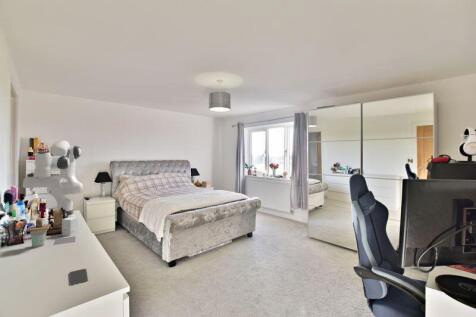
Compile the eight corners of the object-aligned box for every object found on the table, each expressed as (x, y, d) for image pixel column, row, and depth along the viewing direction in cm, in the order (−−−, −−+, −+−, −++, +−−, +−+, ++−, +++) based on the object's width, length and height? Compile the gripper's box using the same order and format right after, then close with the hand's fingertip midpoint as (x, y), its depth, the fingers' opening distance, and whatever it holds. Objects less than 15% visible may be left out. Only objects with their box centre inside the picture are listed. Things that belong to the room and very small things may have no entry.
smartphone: (69, 285, 102) (68, 272, 114) (69, 287, 102) (68, 273, 114) (88, 280, 107) (86, 268, 118) (88, 282, 107) (86, 269, 118)
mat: (55, 239, 163) (55, 239, 163) (75, 236, 169) (75, 236, 169) (53, 245, 151) (53, 245, 151) (75, 242, 158) (75, 241, 158)
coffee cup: (36, 249, 144) (37, 230, 144) (26, 248, 146) (26, 229, 146) (49, 244, 152) (50, 227, 153) (39, 243, 154) (40, 226, 154)
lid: (29, 227, 151) (29, 218, 151) (50, 225, 157) (50, 216, 157) (25, 232, 142) (26, 222, 142) (48, 229, 148) (48, 220, 148)
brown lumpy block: (48, 237, 167) (49, 210, 168) (40, 233, 175) (41, 208, 176) (71, 232, 180) (72, 207, 181) (63, 229, 188) (64, 205, 188)
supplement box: (77, 233, 178) (78, 217, 178) (70, 236, 170) (70, 219, 171) (69, 233, 179) (69, 217, 179) (61, 235, 171) (61, 219, 172)
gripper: (62, 173, 165) (61, 192, 165) (24, 174, 153) (23, 194, 153) (61, 174, 160) (60, 193, 160) (22, 174, 148) (21, 195, 148)
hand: (42, 193), depth 157 cm, fingers open, 8 cm apart
